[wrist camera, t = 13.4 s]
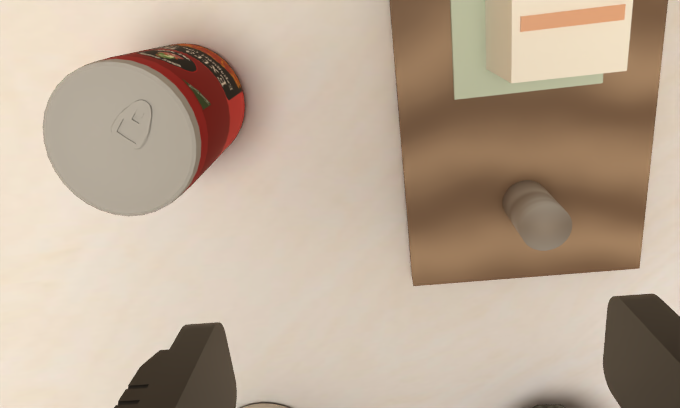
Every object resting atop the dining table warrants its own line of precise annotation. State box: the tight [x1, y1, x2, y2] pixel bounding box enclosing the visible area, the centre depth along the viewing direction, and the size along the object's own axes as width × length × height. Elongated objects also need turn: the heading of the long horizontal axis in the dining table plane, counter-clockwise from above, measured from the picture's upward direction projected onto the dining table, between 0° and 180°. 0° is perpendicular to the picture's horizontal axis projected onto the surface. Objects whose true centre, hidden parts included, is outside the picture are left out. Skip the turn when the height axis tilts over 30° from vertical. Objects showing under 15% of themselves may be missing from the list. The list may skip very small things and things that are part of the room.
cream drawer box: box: [485, 0, 633, 83], centre depth 27 cm, size 6×6×6 cm
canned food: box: [43, 44, 245, 216], centre depth 30 cm, size 8×8×11 cm
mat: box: [450, 0, 603, 100], centre depth 30 cm, size 9×9×1 cm
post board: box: [390, 0, 668, 286], centre depth 31 cm, size 24×16×6 cm, turn 7°
